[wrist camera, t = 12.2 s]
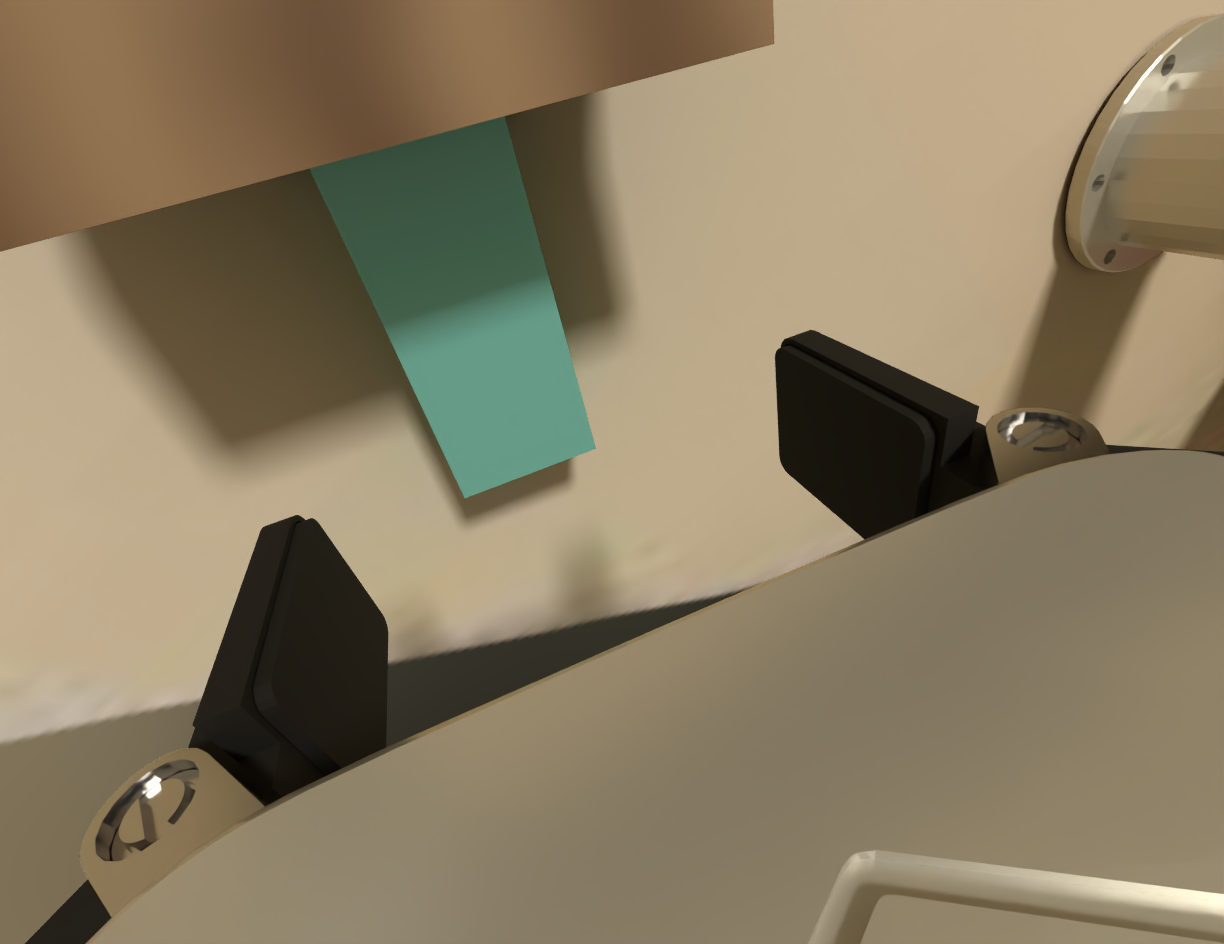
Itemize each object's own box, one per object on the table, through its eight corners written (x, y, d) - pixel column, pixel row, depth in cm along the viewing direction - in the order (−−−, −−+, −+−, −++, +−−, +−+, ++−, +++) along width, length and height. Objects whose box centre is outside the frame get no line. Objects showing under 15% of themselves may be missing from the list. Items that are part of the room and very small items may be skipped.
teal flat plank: (425, -84, 17) (435, -137, 14) (570, 412, 27) (595, 448, 24) (226, -45, 16) (186, -92, 13) (454, 454, 26) (464, 498, 23)
